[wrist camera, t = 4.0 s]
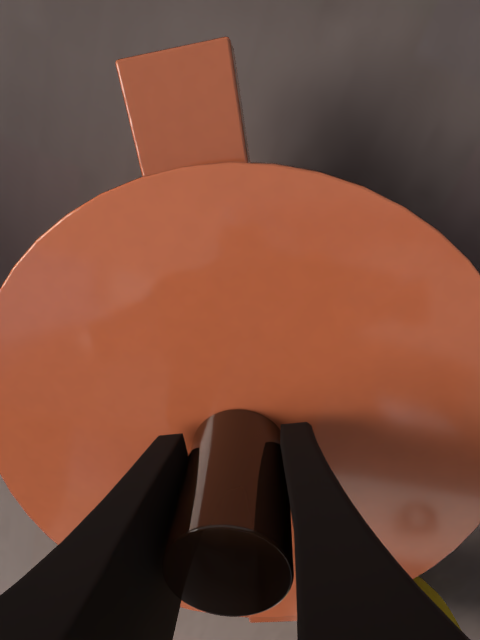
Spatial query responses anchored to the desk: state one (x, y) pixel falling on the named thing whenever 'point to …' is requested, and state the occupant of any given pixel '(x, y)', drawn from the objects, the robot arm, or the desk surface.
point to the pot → (186, 114)
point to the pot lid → (245, 368)
